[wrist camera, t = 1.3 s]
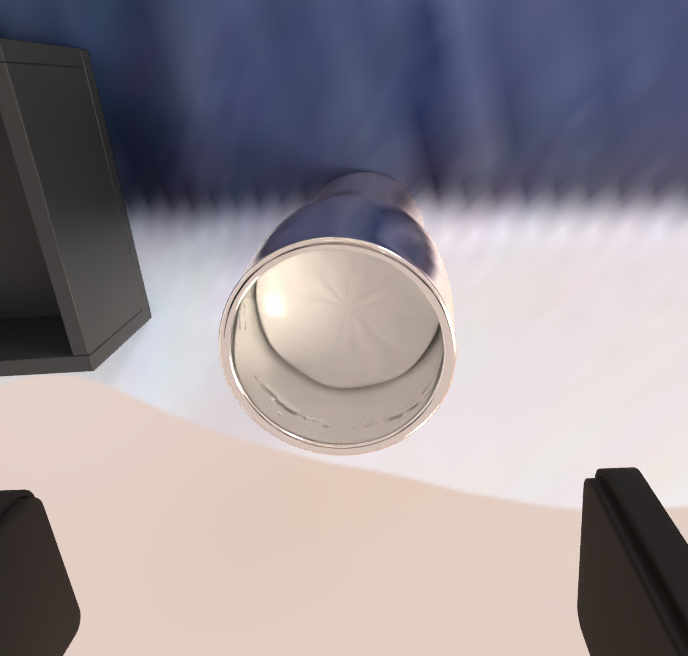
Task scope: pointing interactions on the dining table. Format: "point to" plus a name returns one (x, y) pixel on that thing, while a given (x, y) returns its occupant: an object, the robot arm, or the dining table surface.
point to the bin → (60, 219)
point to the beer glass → (343, 322)
